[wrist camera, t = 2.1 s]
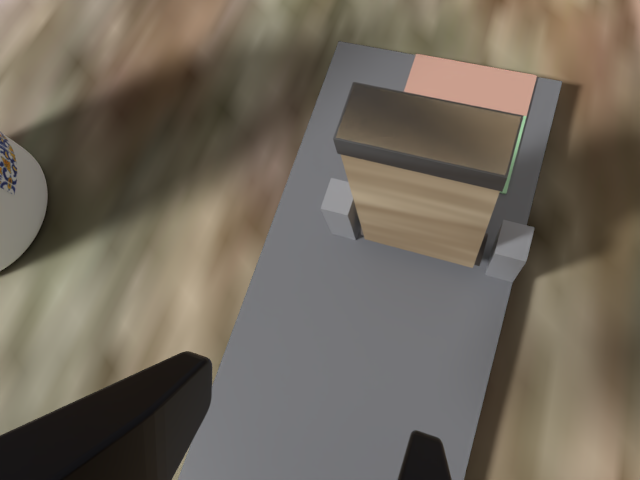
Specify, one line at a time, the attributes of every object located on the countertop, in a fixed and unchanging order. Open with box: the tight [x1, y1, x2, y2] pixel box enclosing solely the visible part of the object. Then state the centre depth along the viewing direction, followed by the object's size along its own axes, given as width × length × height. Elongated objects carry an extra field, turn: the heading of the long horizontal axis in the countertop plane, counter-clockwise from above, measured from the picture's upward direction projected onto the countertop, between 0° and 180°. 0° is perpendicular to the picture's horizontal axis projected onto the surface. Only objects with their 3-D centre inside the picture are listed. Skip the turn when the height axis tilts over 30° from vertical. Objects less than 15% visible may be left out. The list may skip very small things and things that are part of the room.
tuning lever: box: [333, 82, 524, 268], centre depth 17 cm, size 2×4×9 cm, turn 72°
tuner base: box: [178, 41, 562, 480], centre depth 21 cm, size 20×10×4 cm, turn 162°
